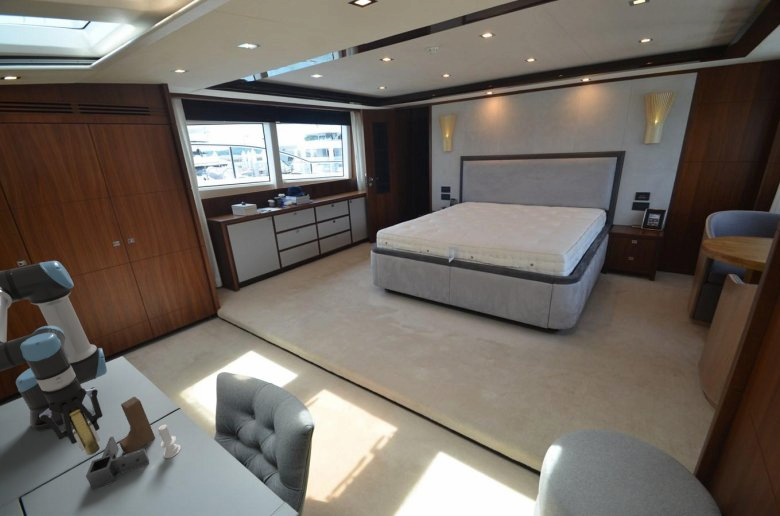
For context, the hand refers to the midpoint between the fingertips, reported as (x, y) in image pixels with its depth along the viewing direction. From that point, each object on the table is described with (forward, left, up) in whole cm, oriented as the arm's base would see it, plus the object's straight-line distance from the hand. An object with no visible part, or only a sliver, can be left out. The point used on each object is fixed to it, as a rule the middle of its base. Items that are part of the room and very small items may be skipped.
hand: (89, 443), depth 106 cm
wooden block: (-5, +11, -15) cm, 20 cm away
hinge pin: (0, 0, -3) cm, 3 cm away
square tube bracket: (-2, +6, -15) cm, 17 cm away
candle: (+8, +17, -15) cm, 24 cm away
